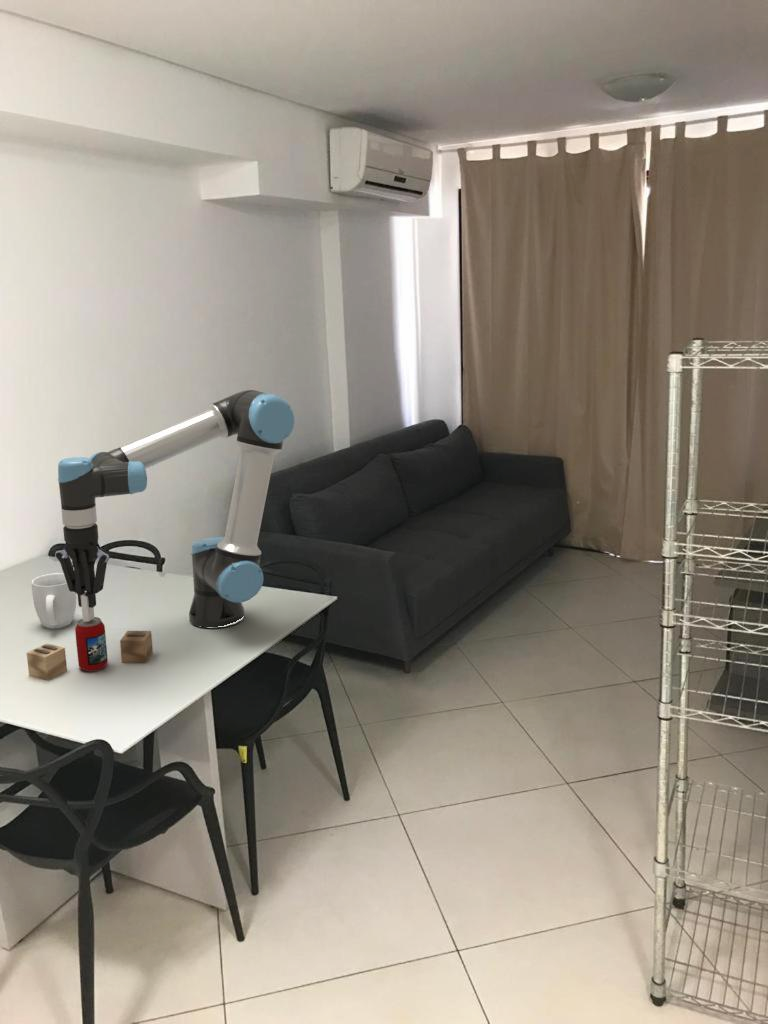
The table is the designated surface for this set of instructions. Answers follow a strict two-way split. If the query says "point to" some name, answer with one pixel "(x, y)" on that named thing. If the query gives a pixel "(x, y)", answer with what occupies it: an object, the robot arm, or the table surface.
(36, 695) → the table surface
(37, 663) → the wooden equals sign cube
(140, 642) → the wooden minus sign cube
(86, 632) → the beverage can
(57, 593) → the mug
